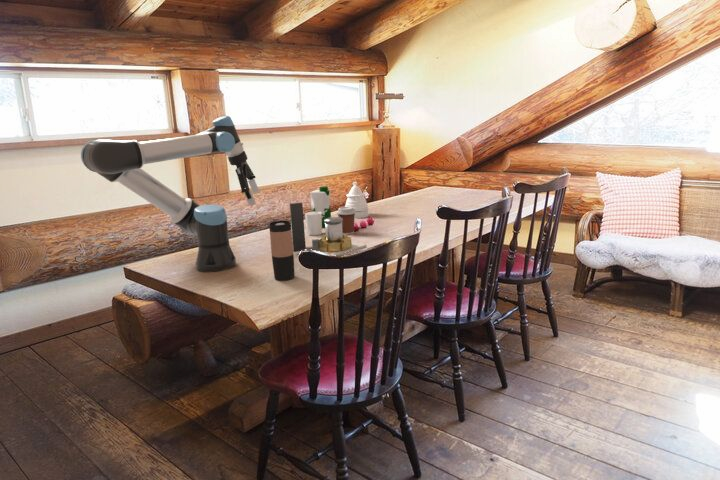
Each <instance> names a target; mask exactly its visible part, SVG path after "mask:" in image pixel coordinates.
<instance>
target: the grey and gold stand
mask: <svg viewBox="0 0 720 480" xmlns="http://www.w3.org/2000/svg"><path fill="white" fill-rule="evenodd" d="M303 207H304V206H303V202H301V201H300V202H293V203H292V202H291V203H289V213H290V215H289V216H290V223H291V231H292V242H293V253H297V252H298V253H299V252H300V251H301V250H304V249H312V250H318V249H319V250H323V251H340V250H342V251H343V250H346V249H349V248H351V247H352V243H351V242H352V237H351V236H349V234H343V239H341V242H336V243H328V240H326V234H323V235H321V238H317V239H311V246H306V233H305V232H306V231H305V220H304V219H305V218H304V208H303Z"/></svg>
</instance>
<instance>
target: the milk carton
mask: <svg viewBox="0 0 720 480" xmlns="http://www.w3.org/2000/svg"><path fill="white" fill-rule="evenodd" d="M328 188H329V187H328V186H319V189H316V190H313V191H310V192H309V195H310V204H311V205H310V206H311V212H321V213H322V229H325V222H324V219H326V218H330V217H332V212H331V190H330V189H328Z"/></svg>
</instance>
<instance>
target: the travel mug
mask: <svg viewBox="0 0 720 480" xmlns="http://www.w3.org/2000/svg"><path fill="white" fill-rule="evenodd" d="M268 224H269V227H268V228H269V239H270V249H271V260H272V261H271V262H272V269H273V277H274V280H275V281H280V282H285V281H286V282H287V281H290V280H293V279H294V278H295V277H296V275H295V273H296V272H295V255H294V254H295V252H294V251H293V240H292V228H291V222H290V221H289V220H275V221H271V222H270V223H268Z"/></svg>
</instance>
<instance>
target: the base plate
mask: <svg viewBox="0 0 720 480" xmlns="http://www.w3.org/2000/svg"><path fill="white" fill-rule="evenodd" d="M351 243H352V247H351V248H349V249H346V250H343V251H342V250H340V251H323V250H319V249H318V250H316V251H320V252H323V253H326V254H330V255H338V256H341V255H343V254H342V253H344V254H346V253H345V252H348V251H351V250H354V251H356V250H355V249H357V250H359V249H358V248H360V249H363V248H366V247H367V244H364V243H358V242H355V241H354V242H353V241H351ZM362 247H363V248H362ZM351 252H352V251H351ZM348 253H349V252H348ZM340 254H341V255H340Z"/></svg>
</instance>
